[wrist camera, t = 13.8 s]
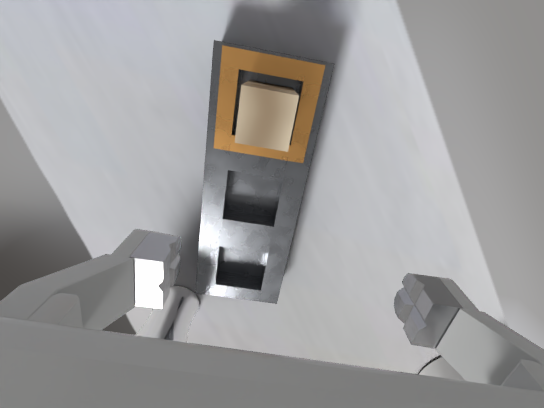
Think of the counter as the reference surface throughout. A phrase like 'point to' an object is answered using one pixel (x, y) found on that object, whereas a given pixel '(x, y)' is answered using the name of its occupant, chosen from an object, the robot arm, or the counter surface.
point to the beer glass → (172, 316)
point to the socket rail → (254, 175)
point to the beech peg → (266, 115)
